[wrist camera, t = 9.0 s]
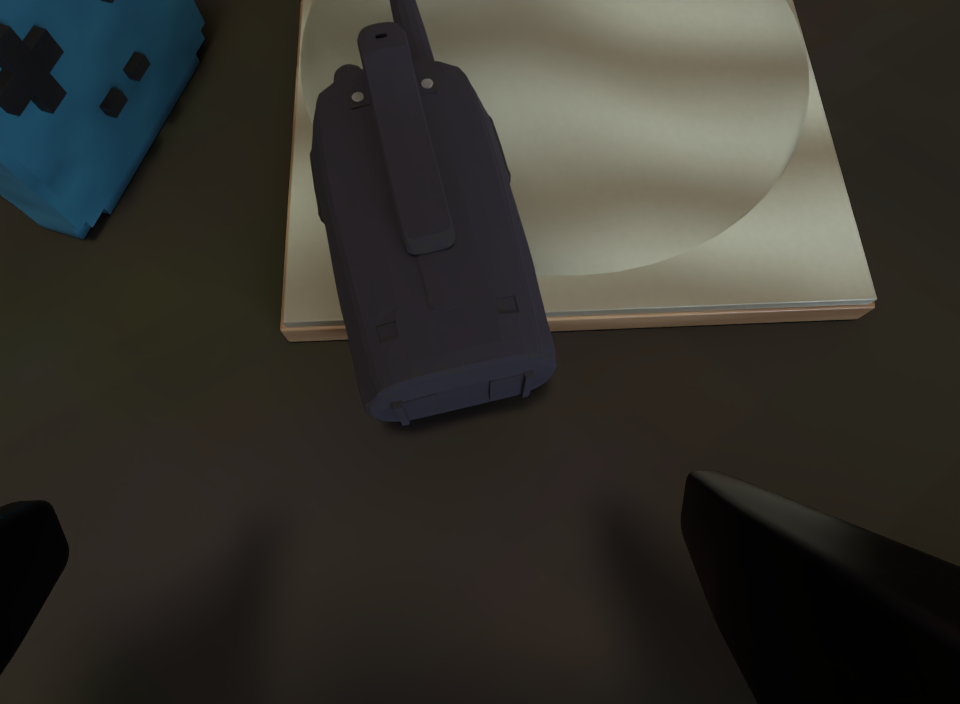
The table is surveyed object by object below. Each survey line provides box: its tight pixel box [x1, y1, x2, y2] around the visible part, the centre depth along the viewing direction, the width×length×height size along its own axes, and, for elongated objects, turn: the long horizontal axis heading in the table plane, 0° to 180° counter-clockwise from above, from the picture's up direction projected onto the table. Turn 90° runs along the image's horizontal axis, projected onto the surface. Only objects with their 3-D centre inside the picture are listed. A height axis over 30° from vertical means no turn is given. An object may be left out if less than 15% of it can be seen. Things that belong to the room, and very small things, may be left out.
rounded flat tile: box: [280, 0, 877, 342], centre depth 22 cm, size 19×18×1 cm
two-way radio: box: [310, 0, 557, 426], centre depth 17 cm, size 6×4×15 cm
